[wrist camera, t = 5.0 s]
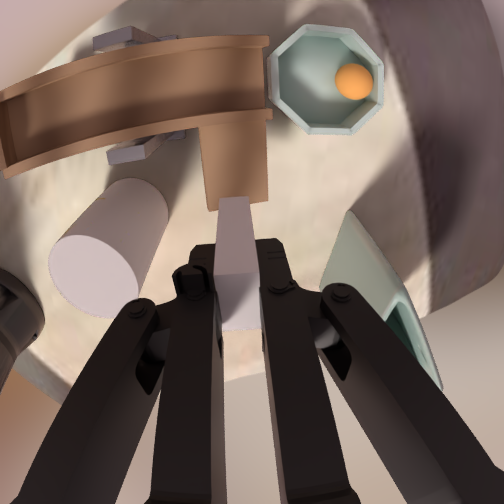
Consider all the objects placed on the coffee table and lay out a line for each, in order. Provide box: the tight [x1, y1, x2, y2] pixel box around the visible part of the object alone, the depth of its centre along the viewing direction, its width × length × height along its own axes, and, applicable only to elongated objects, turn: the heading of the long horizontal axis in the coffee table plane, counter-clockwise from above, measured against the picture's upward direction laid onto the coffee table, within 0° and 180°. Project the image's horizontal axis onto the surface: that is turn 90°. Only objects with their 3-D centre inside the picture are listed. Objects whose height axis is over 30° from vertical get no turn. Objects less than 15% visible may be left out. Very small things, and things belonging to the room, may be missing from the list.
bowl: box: [266, 24, 384, 135], centre depth 22 cm, size 10×10×4 cm
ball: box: [335, 63, 373, 100], centre depth 22 cm, size 4×4×4 cm
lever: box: [0, 35, 273, 212], centre depth 18 cm, size 20×13×3 cm
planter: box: [319, 210, 443, 391], centre depth 28 cm, size 16×8×20 cm, turn 32°
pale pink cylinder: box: [48, 178, 169, 318], centre depth 25 cm, size 8×8×12 cm
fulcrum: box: [93, 26, 186, 165], centre depth 19 cm, size 5×10×10 cm, turn 3°
